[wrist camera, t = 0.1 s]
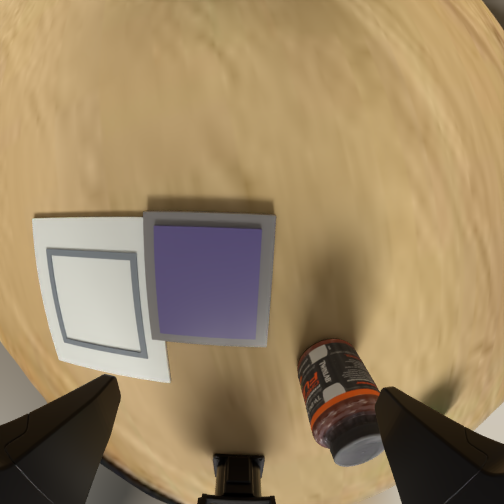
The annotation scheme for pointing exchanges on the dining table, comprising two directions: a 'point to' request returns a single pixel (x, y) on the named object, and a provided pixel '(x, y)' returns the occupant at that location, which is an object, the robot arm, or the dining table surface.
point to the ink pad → (209, 276)
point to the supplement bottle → (340, 402)
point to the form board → (98, 294)
